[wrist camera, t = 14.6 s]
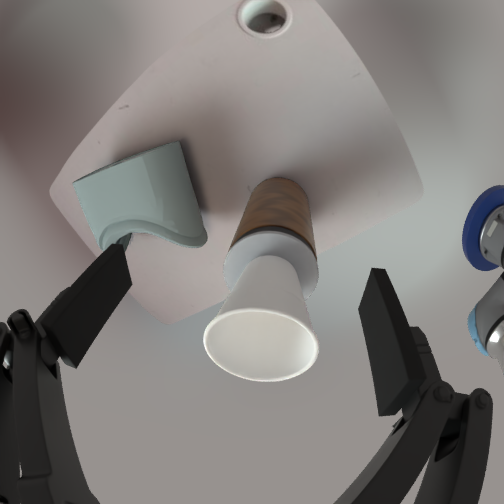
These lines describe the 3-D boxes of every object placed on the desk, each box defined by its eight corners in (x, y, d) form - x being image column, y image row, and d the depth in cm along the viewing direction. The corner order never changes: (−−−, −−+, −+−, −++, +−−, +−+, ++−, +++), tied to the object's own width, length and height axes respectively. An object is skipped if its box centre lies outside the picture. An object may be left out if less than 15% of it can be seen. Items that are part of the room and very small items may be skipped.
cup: (245, 314, 35) (230, 385, 26) (214, 250, 31) (182, 319, 21) (321, 299, 32) (328, 374, 23) (301, 227, 28) (304, 296, 19)
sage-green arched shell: (189, 136, 46) (158, 149, 35) (216, 229, 55) (197, 264, 44) (99, 168, 51) (61, 188, 40) (128, 244, 60) (100, 276, 49)
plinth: (312, 181, 47) (324, 230, 30) (304, 235, 53) (308, 304, 36) (250, 174, 48) (227, 219, 31) (247, 229, 54) (226, 295, 37)
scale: (324, 230, 30) (326, 239, 28) (308, 304, 36) (309, 315, 34) (227, 219, 31) (223, 228, 29) (226, 295, 37) (223, 306, 35)
